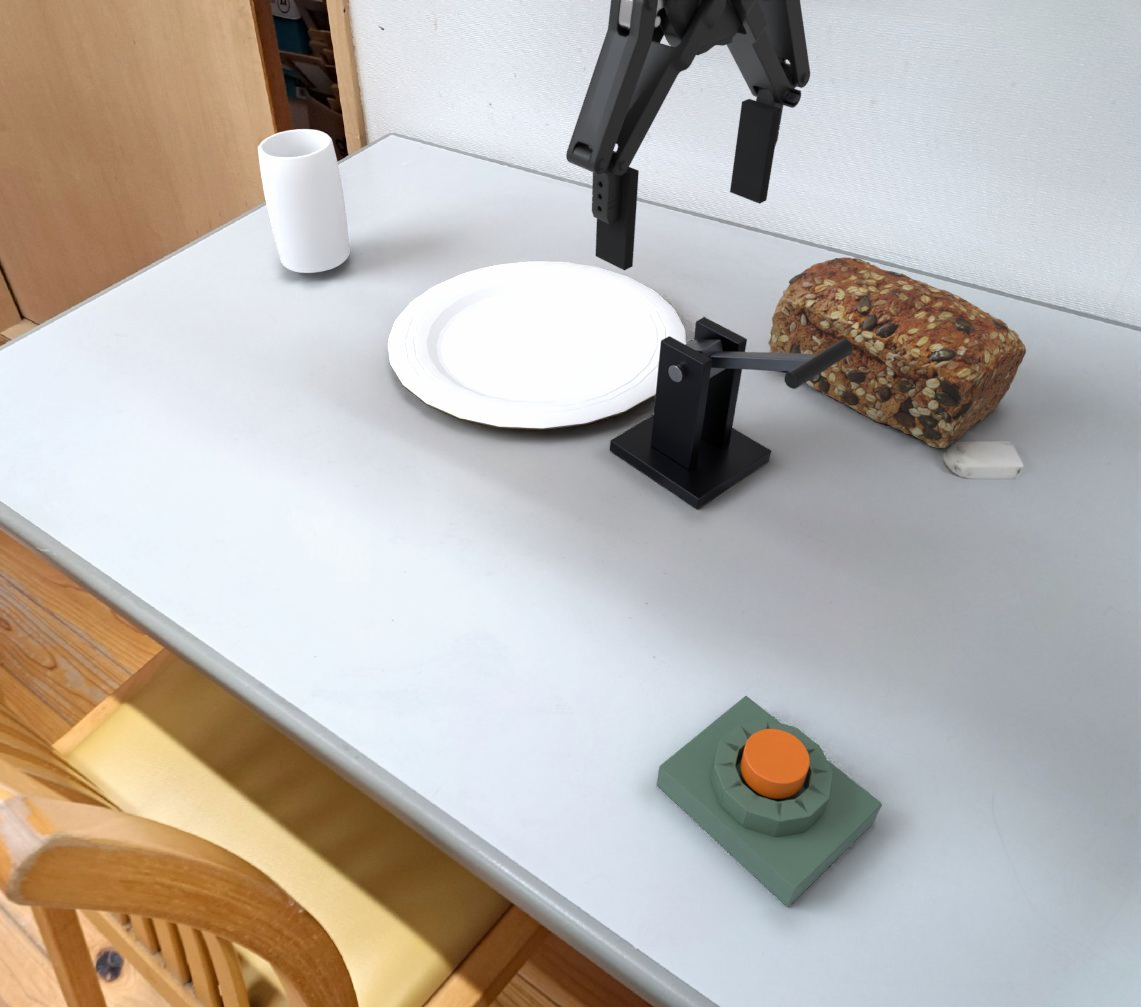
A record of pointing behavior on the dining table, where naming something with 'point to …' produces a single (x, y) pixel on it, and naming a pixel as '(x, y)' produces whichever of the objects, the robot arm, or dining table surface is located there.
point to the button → (774, 763)
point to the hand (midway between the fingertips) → (683, 227)
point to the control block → (767, 804)
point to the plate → (533, 344)
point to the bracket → (693, 423)
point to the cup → (305, 199)
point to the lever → (773, 360)
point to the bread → (899, 347)
